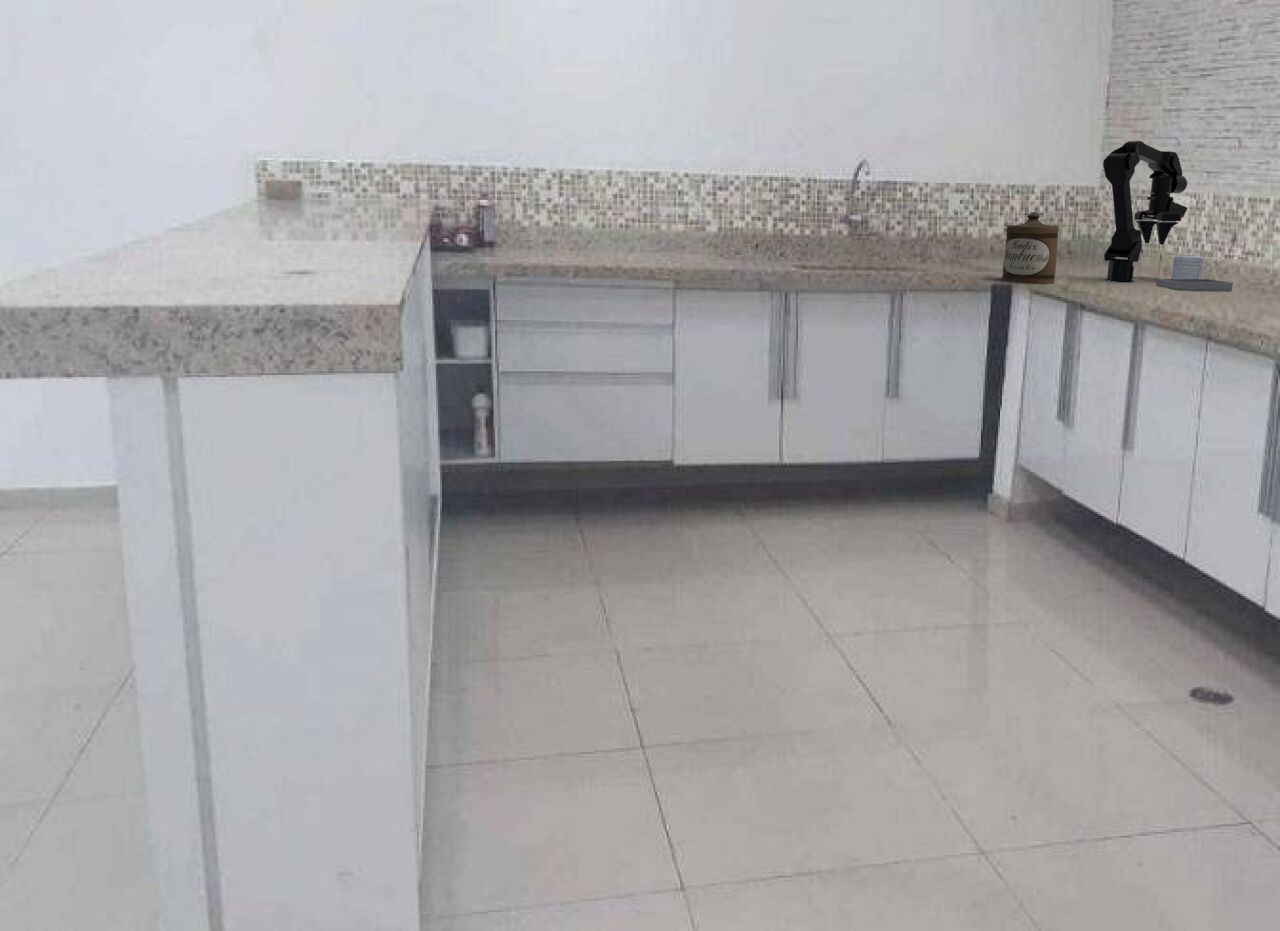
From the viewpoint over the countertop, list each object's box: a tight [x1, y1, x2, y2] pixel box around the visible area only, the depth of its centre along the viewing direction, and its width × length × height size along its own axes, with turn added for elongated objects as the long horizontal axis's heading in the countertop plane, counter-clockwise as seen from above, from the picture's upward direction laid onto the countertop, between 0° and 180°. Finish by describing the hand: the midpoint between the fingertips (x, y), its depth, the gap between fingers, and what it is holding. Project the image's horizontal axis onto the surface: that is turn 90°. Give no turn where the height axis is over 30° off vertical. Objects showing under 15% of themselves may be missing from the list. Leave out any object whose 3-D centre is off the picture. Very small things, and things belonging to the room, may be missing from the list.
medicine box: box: [1171, 255, 1205, 279], centre depth 338 cm, size 8×4×9 cm, turn 54°
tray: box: [1155, 278, 1234, 292], centre depth 322 cm, size 16×13×2 cm
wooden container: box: [1001, 211, 1060, 285], centre depth 320 cm, size 15×15×22 cm
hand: (1154, 243), depth 344 cm, fingers open, 9 cm apart
